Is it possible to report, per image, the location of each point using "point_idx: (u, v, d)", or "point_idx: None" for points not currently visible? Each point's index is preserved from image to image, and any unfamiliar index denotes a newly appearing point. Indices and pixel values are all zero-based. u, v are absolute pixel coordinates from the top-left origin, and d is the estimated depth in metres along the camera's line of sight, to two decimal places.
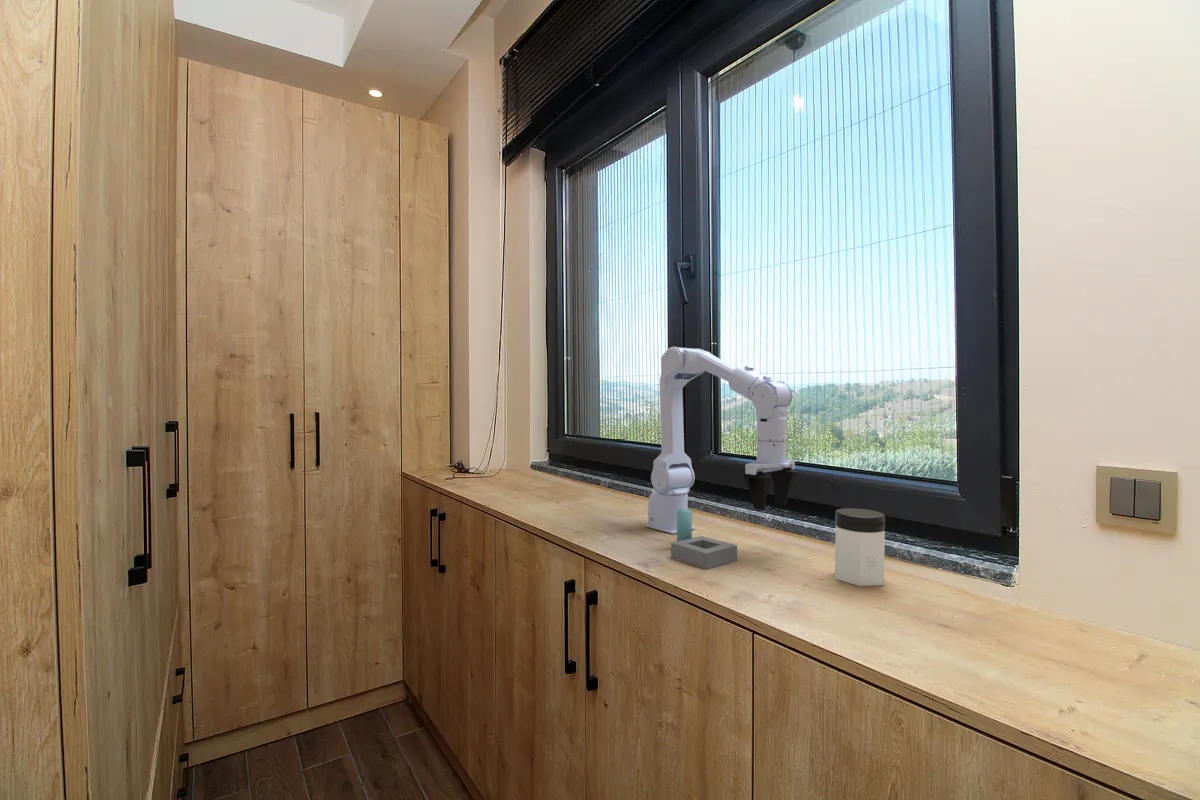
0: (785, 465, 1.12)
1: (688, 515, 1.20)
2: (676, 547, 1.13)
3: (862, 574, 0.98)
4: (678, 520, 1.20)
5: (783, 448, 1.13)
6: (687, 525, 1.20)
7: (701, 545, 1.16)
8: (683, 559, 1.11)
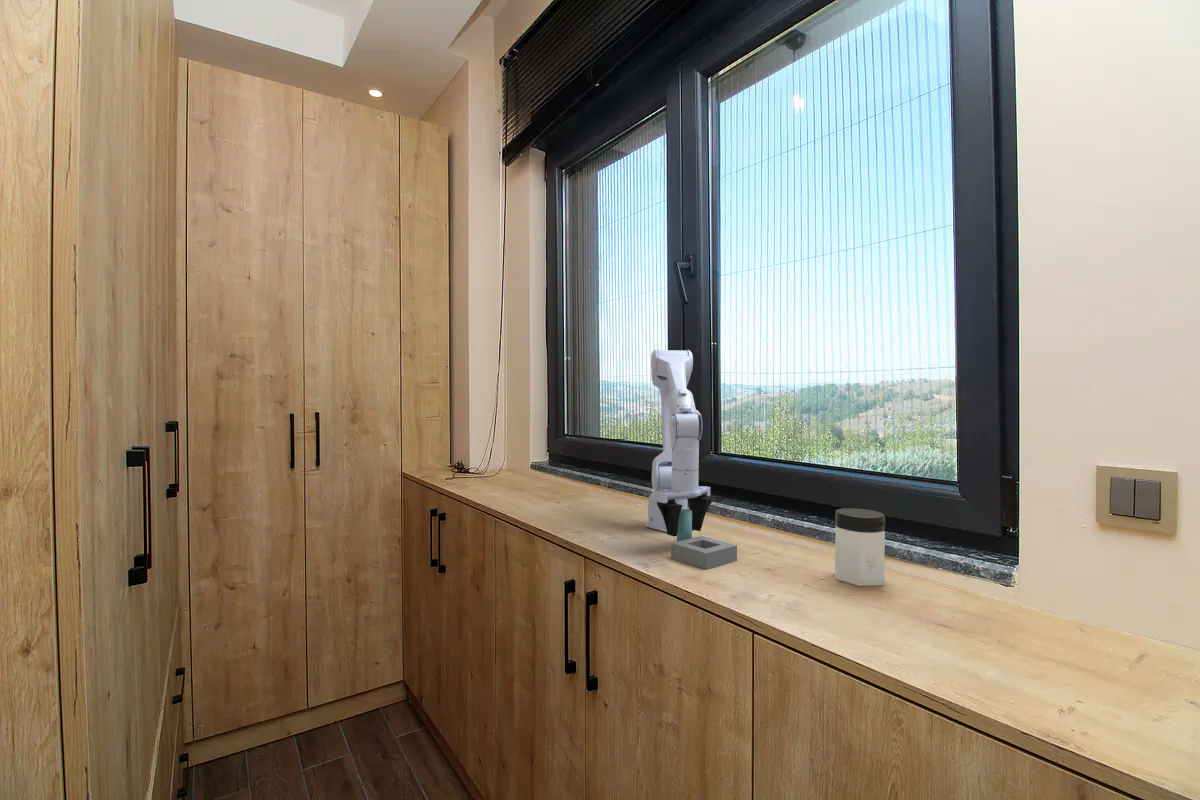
0: (696, 493, 1.17)
1: (688, 515, 1.20)
2: (676, 547, 1.13)
3: (862, 574, 0.98)
4: (678, 520, 1.20)
5: (694, 477, 1.19)
6: (687, 525, 1.20)
7: (701, 545, 1.16)
8: (683, 559, 1.11)
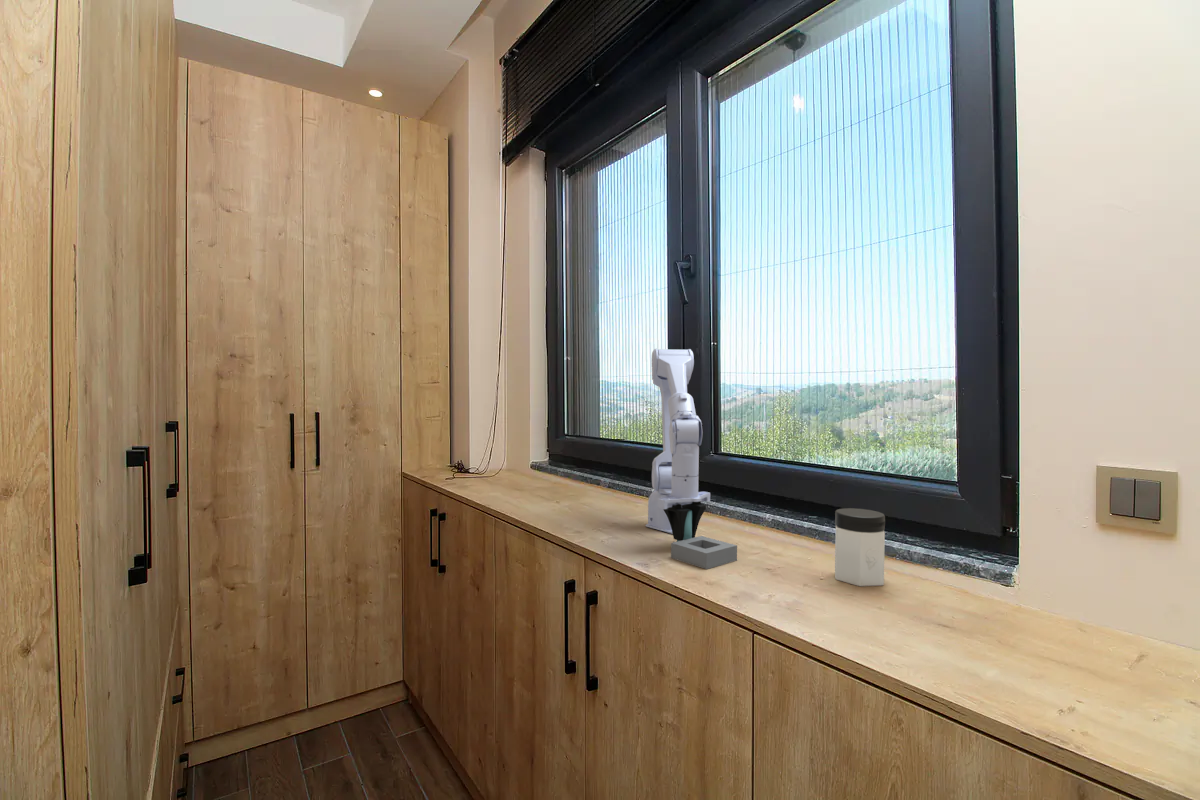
0: (696, 500, 1.17)
1: (688, 515, 1.20)
2: (676, 547, 1.13)
3: (862, 574, 0.98)
4: None
5: (694, 483, 1.19)
6: (687, 525, 1.20)
7: (701, 545, 1.16)
8: (683, 559, 1.11)
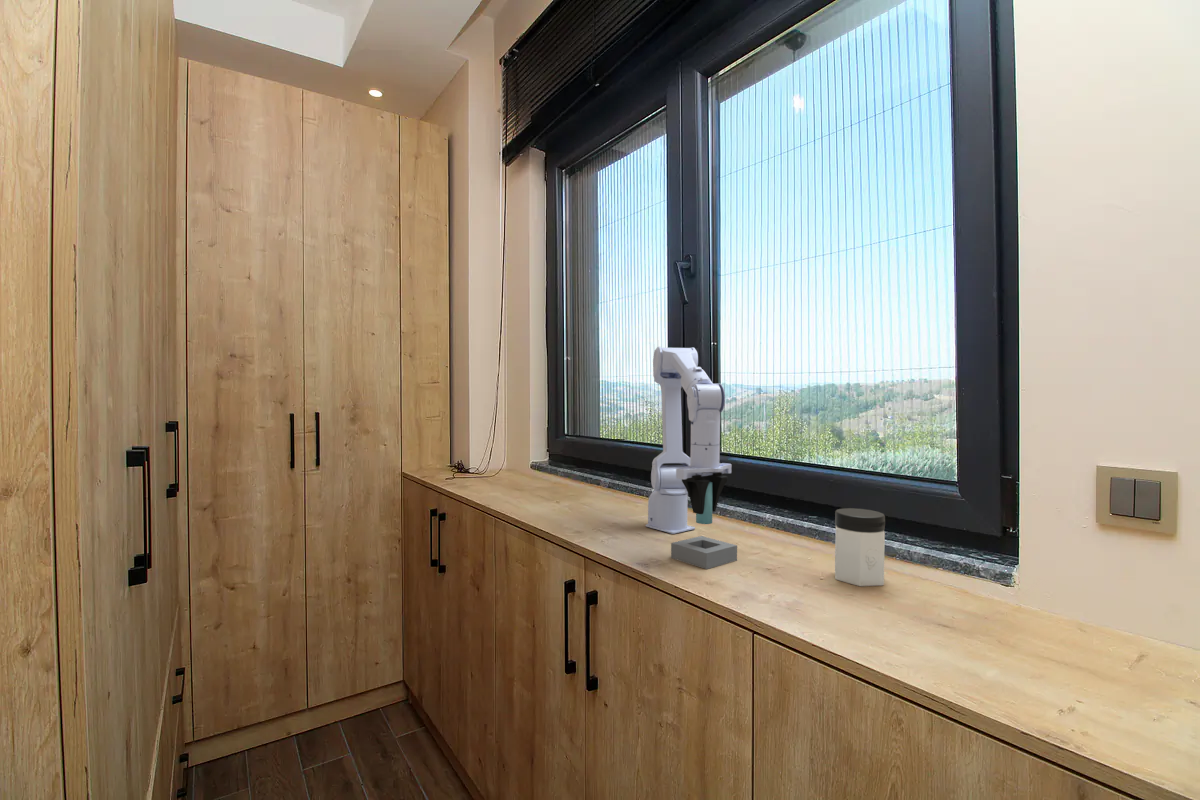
0: (717, 469, 1.09)
1: (709, 486, 1.11)
2: (676, 547, 1.13)
3: (862, 574, 0.98)
4: None
5: (716, 452, 1.10)
6: (707, 498, 1.11)
7: (701, 545, 1.16)
8: (683, 559, 1.11)
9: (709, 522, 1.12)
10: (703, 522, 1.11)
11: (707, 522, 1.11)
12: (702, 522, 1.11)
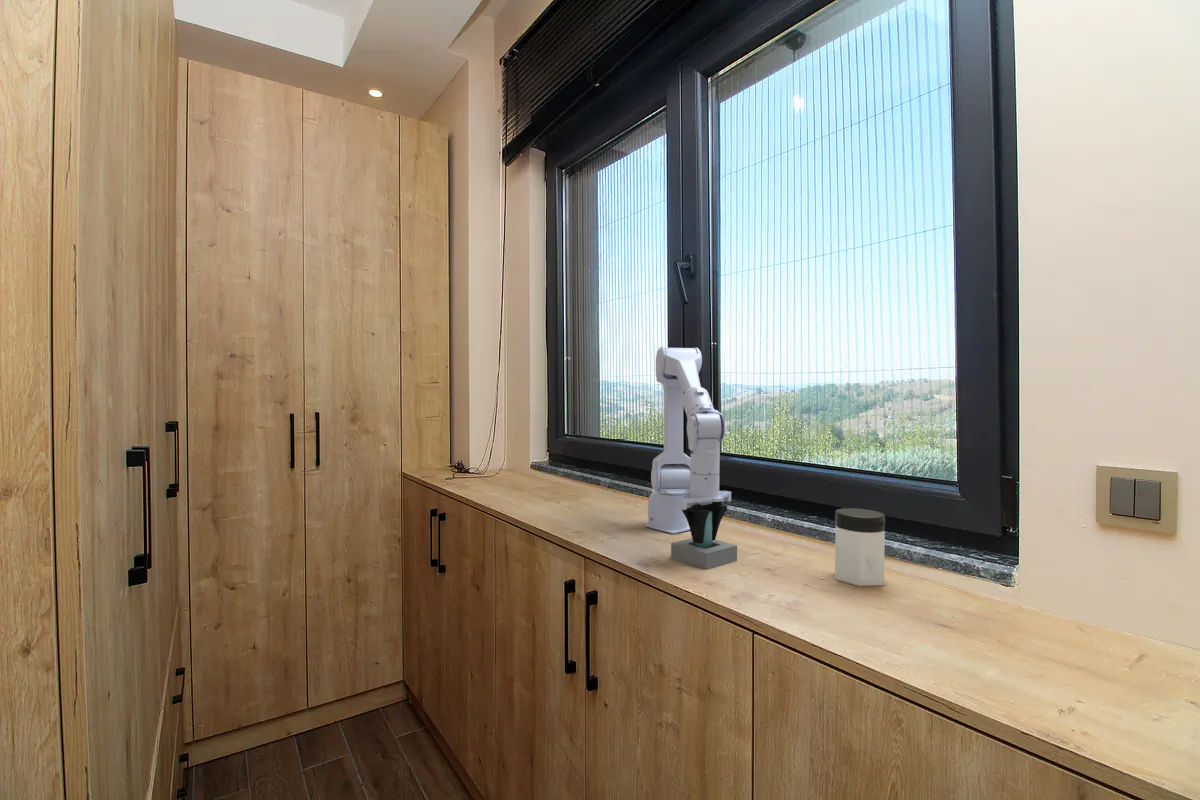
0: (717, 499, 1.09)
1: (708, 516, 1.12)
2: (676, 547, 1.13)
3: (862, 574, 0.98)
4: None
5: (715, 481, 1.11)
6: (707, 527, 1.11)
7: None
8: (683, 559, 1.11)
9: None
10: None
11: None
12: None
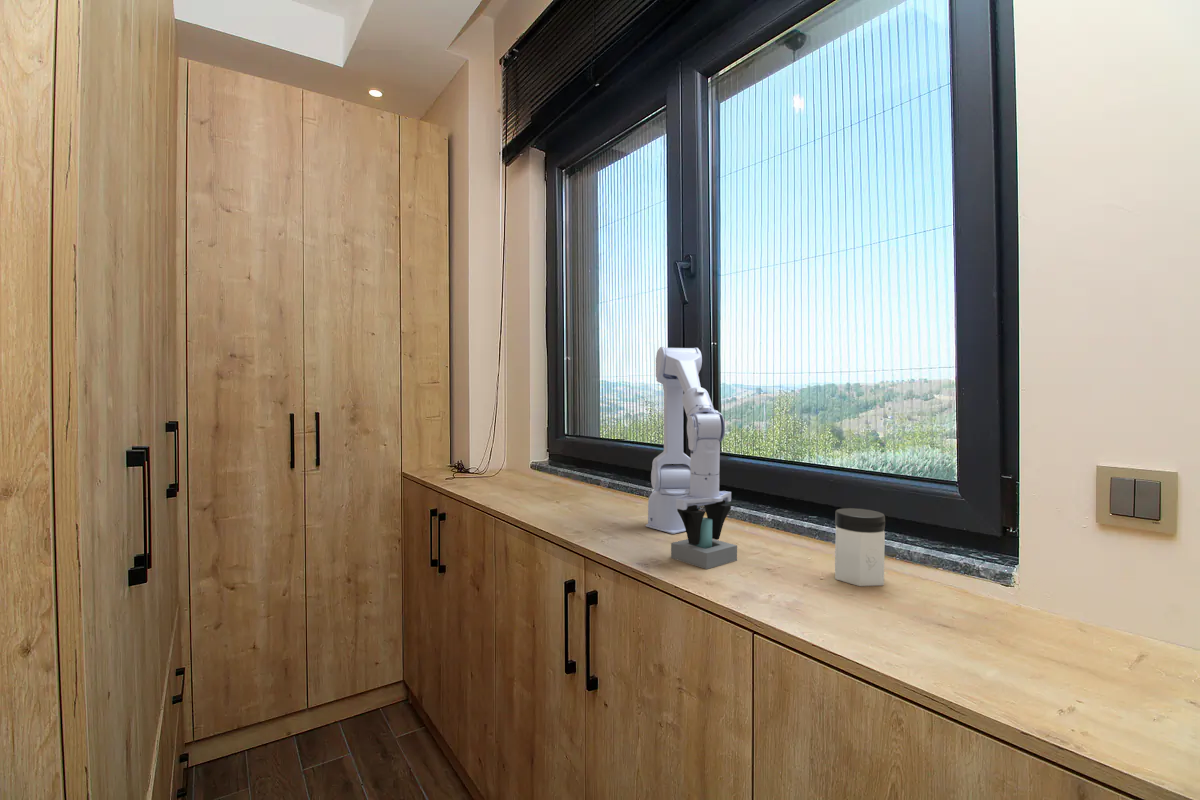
0: (717, 499, 1.09)
1: (708, 524, 1.11)
2: (676, 547, 1.13)
3: (862, 574, 0.98)
4: None
5: (715, 481, 1.11)
6: (707, 535, 1.11)
7: None
8: (683, 559, 1.11)
9: None
10: None
11: None
12: None
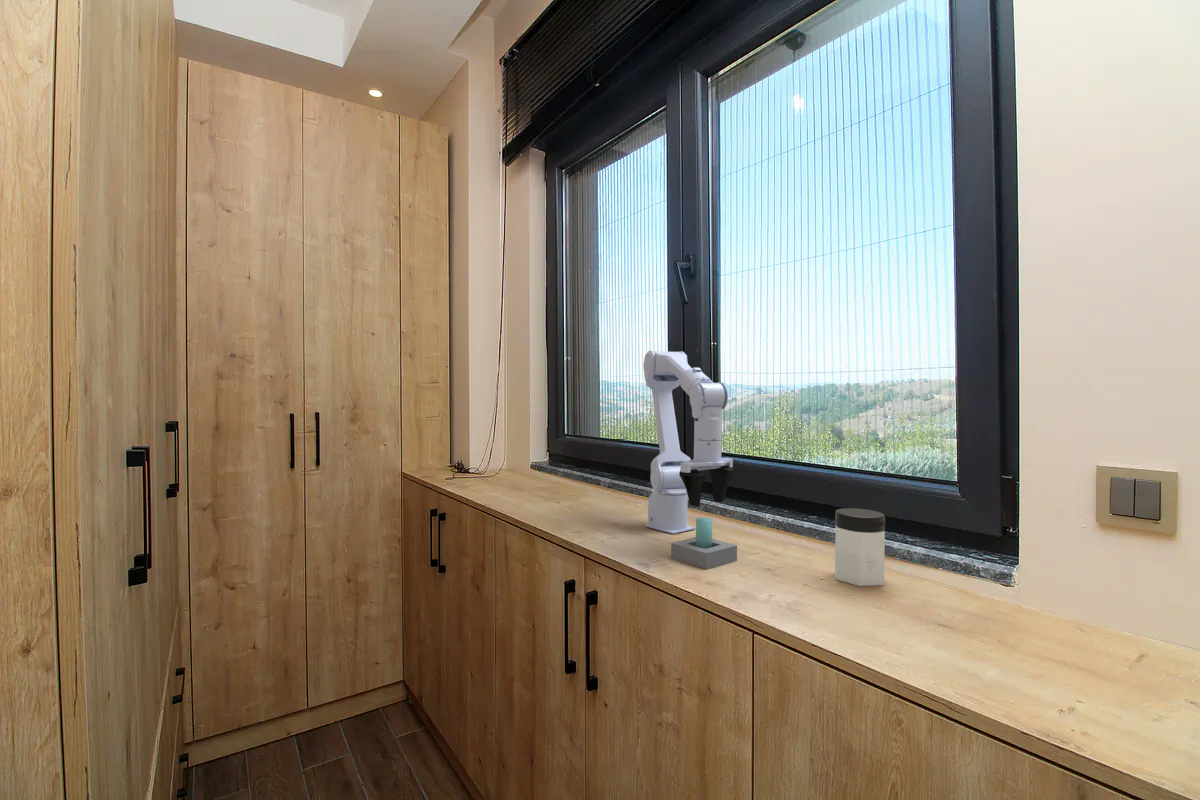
0: (719, 463, 1.16)
1: (708, 524, 1.11)
2: (676, 547, 1.13)
3: (862, 574, 0.98)
4: (697, 529, 1.12)
5: (718, 447, 1.17)
6: (707, 535, 1.11)
7: None
8: (683, 559, 1.11)
9: None
10: None
11: None
12: None
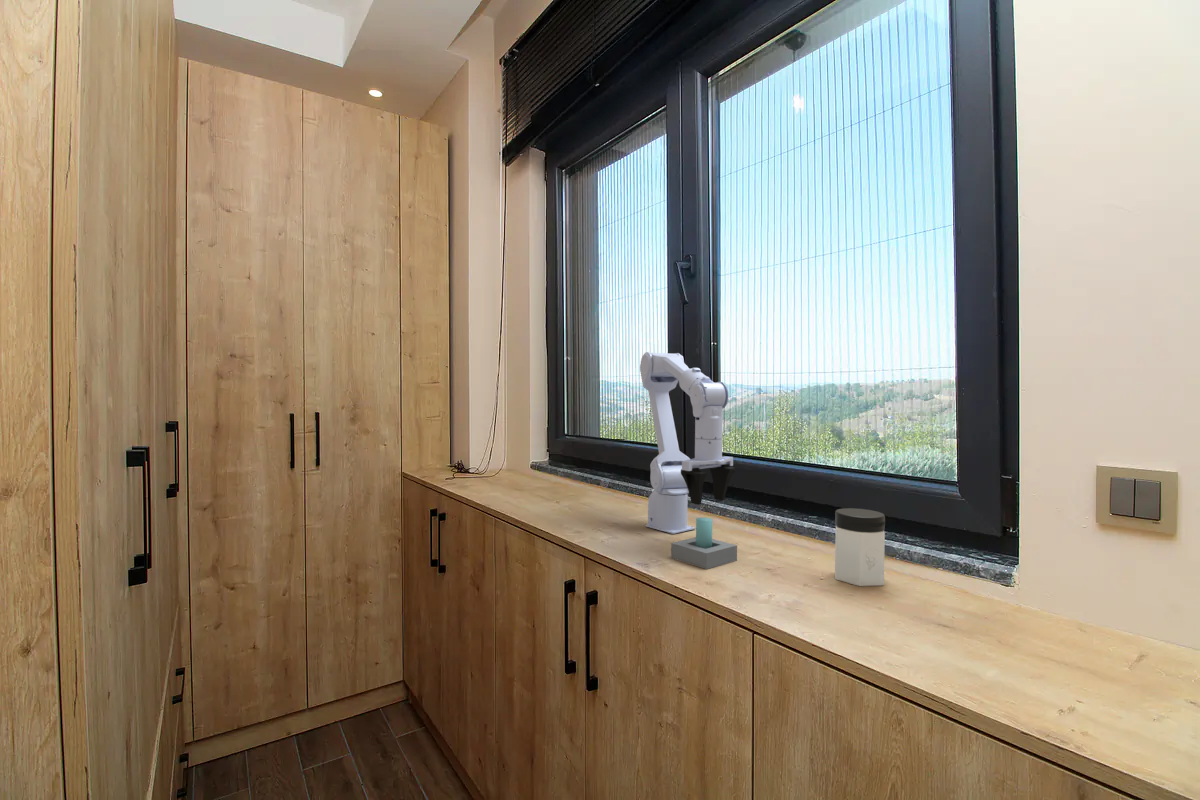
0: (720, 462, 1.18)
1: (709, 524, 1.12)
2: (676, 547, 1.13)
3: (862, 574, 0.98)
4: (697, 529, 1.12)
5: (718, 445, 1.19)
6: (707, 535, 1.11)
7: None
8: (683, 559, 1.11)
9: None
10: None
11: None
12: None
